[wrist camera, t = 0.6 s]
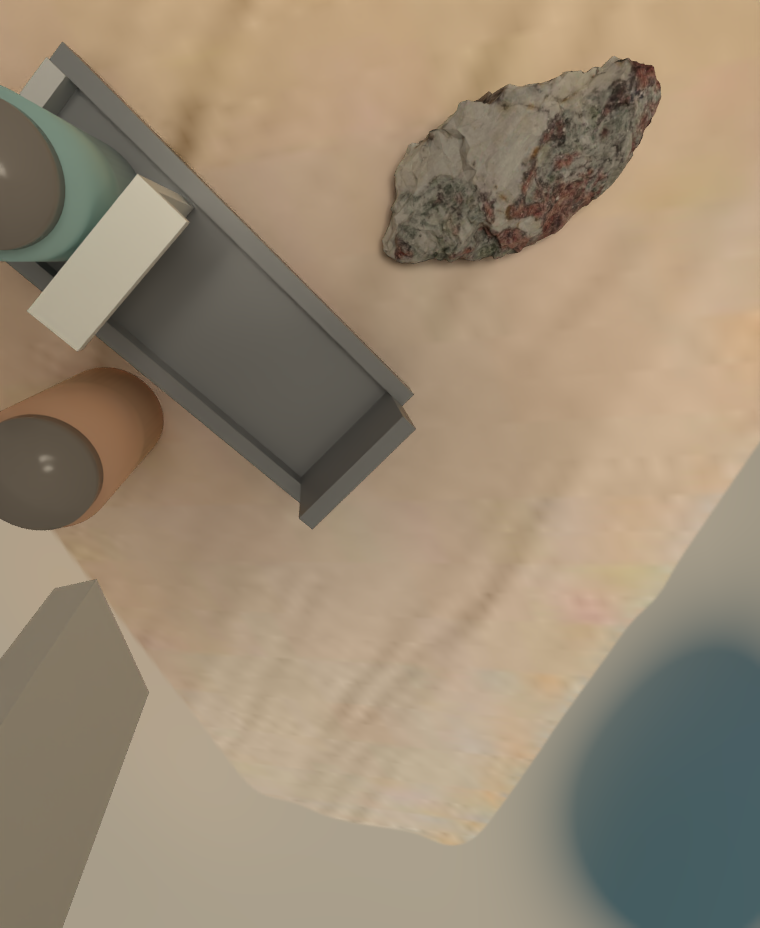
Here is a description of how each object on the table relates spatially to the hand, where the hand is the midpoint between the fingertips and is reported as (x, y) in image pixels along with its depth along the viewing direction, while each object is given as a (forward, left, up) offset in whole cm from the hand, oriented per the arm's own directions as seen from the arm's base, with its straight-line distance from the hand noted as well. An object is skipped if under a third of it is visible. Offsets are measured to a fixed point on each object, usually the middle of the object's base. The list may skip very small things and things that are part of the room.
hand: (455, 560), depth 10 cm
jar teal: (-16, -4, -24) cm, 29 cm away
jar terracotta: (-8, -13, -25) cm, 29 cm away
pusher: (-11, -4, -24) cm, 27 cm away
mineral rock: (-1, +13, -25) cm, 28 cm away
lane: (-8, -4, -25) cm, 26 cm away
